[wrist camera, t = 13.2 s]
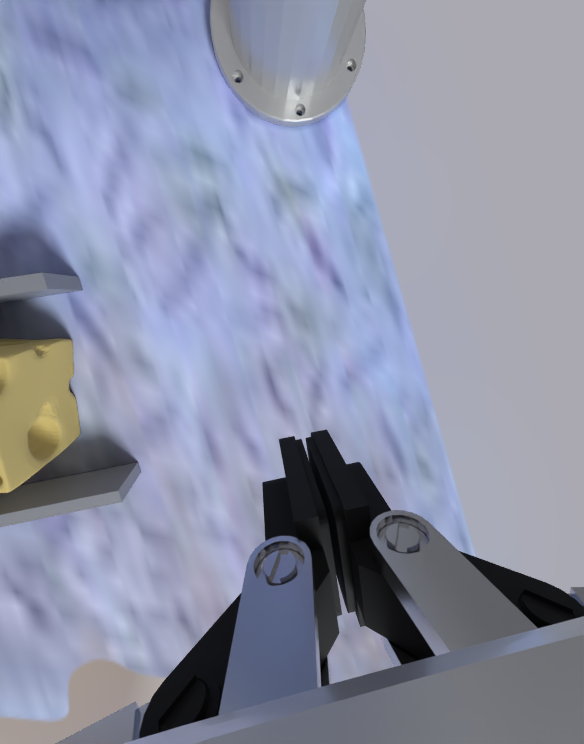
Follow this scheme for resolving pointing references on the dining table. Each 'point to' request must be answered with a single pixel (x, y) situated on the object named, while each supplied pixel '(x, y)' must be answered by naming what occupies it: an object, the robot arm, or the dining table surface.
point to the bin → (70, 489)
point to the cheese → (34, 406)
